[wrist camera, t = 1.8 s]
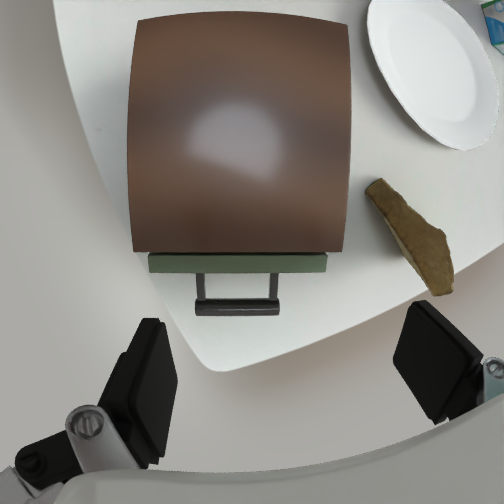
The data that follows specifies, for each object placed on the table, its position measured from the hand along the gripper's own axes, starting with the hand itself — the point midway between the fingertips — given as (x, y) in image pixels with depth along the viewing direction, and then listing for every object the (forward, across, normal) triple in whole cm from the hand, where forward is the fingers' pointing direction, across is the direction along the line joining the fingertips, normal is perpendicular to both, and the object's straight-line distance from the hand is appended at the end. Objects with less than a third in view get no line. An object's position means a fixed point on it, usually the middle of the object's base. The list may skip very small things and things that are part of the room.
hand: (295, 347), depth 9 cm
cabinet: (+17, +2, -8) cm, 19 cm away
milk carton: (+17, -40, -33) cm, 55 cm away
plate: (+17, -21, -20) cm, 33 cm away
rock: (+17, -15, -1) cm, 23 cm away
